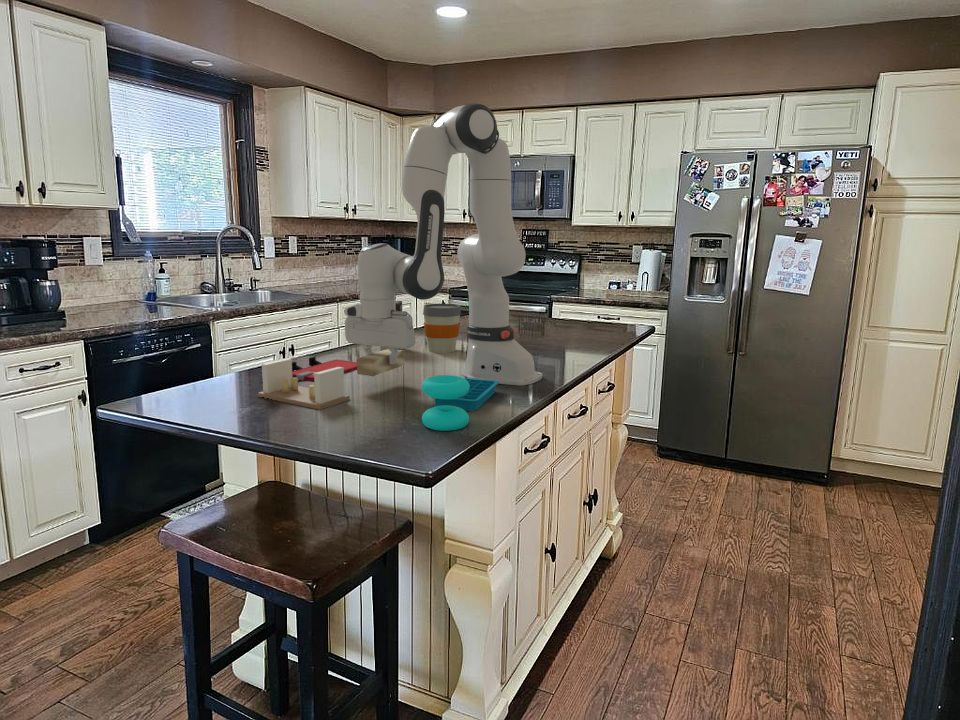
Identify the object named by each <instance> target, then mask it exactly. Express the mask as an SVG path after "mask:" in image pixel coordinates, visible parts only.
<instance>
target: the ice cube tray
mask: <svg viewBox="0 0 960 720" xmlns="http://www.w3.org/2000/svg"><path fill="white" fill-rule="evenodd" d="M463 378H464V379H466V380H467V381H468V382H469V385H470V388H469V391H468V392H467V393H466V394H465V395H464V396H462V397H459V398H456V399H436V398H434V407H435V406H442V405H449V406H456V407H459V408H462V409H464V410H465V411H470V412H473V411H477V410H478V409H479V408H480V407H481V406H482V405H483V404H485V402H487V401H488V400H490V398H491V397H492V396H493V395H494V394H496V393H495V392H496V386H498V385H499V381H495V380H483V379H471V378H467V377H463ZM430 399H433V398H432V397H430Z"/></svg>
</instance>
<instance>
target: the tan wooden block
mask: <svg viewBox="0 0 960 720" xmlns="http://www.w3.org/2000/svg"><path fill="white" fill-rule="evenodd" d="M390 354H391V351H389V349H386V350H383V351H380V350H379V351H377V352H373V354H370V355H364V356H361V357H357V358H356V362H357V369H356V371H357V375H360V376H367V377H368V376H369V377H375V376H378V375H381V374H384V373H386V372H389V371H391V370H394V369H398V368H400V367H402V366H405V364H406V363H405V349H401V350H399V351H398V353H397V355H396V357H395V359H396V363H395V364H387V357H390Z"/></svg>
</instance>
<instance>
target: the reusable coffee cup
mask: <svg viewBox="0 0 960 720" xmlns="http://www.w3.org/2000/svg"><path fill="white" fill-rule="evenodd" d="M422 315H423V316H424V322H423V327H424V334H425V337H426V342H427V349H428V352H429V353H435V354H451V353H455V351H456V348H457V339H458V337H459V334H460V326H461V322H460V316H461V315H462V312H461V305H459V304H455V303H428V304H424V305H423V312H422Z"/></svg>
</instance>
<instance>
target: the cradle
mask: <svg viewBox="0 0 960 720" xmlns="http://www.w3.org/2000/svg"><path fill="white" fill-rule="evenodd" d="M292 362H293V360H292V358H288V357H287V358H283V359H278V360H273V361H268V362H264V363H261V373H262V376H261V377H262V378H261V379H263V380H262V391H259V392H258V393H257V395H258V396H259V398H262V397H264V398H263V399H267V398H269V399H268V400H271V399H272V400H271V401H276V400H277V401H278V402H282V403H285V404H291V405H296V406H300V407H305V408H311V409H315V410H319V411H321V410H323V409H325V408H330V407H333V406H335V405H337V404H340V403H344V402H346V401H350V395H348V394H345V375H344V374H345V373H344V368H343V367H335V368H332V369H328V370H324V371H320V372H317V373H314V381H313V383H314V384H310V385H308V387H305V386H302V385H299V384H298V383H299V382H298V381H299V380H298V378H292Z"/></svg>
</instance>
